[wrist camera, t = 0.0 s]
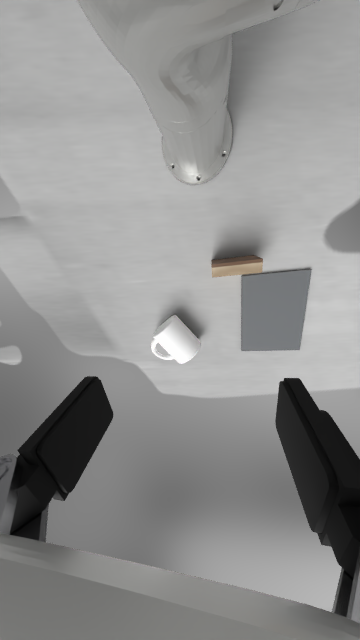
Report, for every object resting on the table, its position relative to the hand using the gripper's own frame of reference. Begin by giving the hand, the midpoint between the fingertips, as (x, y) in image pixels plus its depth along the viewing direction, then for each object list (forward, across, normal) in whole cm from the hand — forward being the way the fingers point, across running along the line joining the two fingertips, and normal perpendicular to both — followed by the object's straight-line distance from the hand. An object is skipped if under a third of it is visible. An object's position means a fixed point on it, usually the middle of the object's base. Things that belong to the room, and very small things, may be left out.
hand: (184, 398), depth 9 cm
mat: (+37, -15, +11) cm, 41 cm away
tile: (+37, -6, -2) cm, 37 cm away
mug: (+37, +10, +16) cm, 42 cm away
